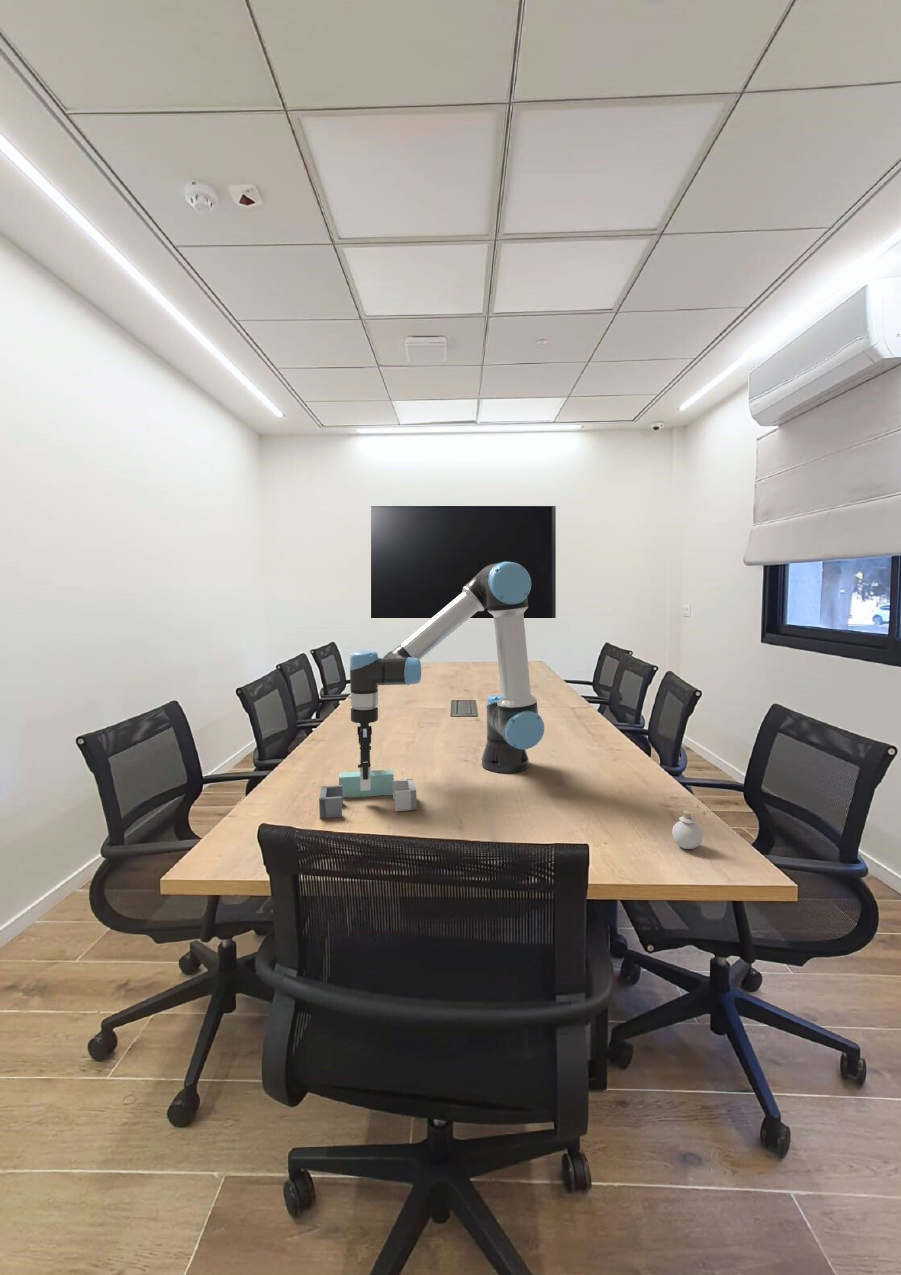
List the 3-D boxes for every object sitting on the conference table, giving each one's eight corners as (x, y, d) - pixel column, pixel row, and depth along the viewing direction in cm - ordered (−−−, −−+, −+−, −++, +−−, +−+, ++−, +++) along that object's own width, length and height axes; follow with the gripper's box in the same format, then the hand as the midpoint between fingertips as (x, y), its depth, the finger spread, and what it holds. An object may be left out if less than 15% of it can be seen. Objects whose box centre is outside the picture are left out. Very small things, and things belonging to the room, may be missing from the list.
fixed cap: (342, 802, 146) (342, 784, 145) (342, 816, 137) (341, 797, 137) (322, 804, 145) (321, 786, 144) (319, 818, 136) (319, 799, 136)
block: (393, 789, 155) (392, 769, 155) (393, 795, 152) (393, 774, 151) (340, 793, 153) (339, 772, 153) (339, 798, 149) (338, 777, 149)
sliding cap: (413, 796, 149) (412, 778, 149) (416, 809, 140) (416, 790, 140) (393, 797, 148) (392, 780, 148) (395, 811, 139) (394, 792, 139)
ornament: (668, 840, 122) (669, 798, 121) (702, 841, 122) (703, 798, 121) (676, 853, 116) (678, 809, 115) (712, 855, 116) (714, 810, 115)
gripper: (351, 698, 162) (351, 767, 163) (350, 718, 137) (351, 799, 139) (376, 697, 163) (376, 765, 165) (379, 717, 138) (380, 797, 140)
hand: (365, 781), depth 152 cm, fingers open, 13 cm apart
